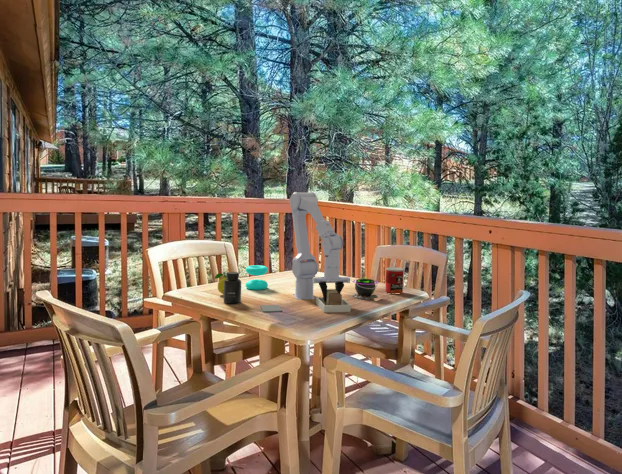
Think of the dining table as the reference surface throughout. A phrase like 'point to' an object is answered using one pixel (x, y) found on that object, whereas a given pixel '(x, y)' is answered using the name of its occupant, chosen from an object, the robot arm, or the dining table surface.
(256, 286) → the donuts
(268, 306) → the rubber mat
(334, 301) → the walnut block
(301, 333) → the dining table surface
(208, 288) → the dining table surface
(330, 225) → the robot arm
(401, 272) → the canned food
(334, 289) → the birch block
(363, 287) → the toy cauldron
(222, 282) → the pear
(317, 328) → the dining table surface
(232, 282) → the supplement bottle
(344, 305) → the parts bin
